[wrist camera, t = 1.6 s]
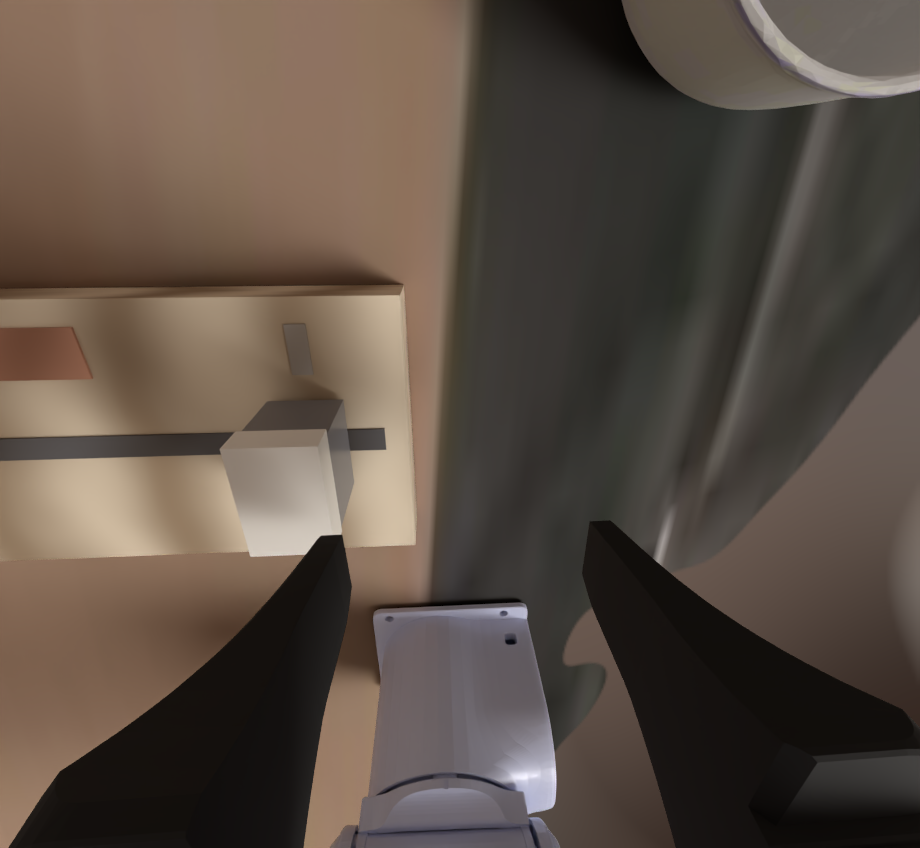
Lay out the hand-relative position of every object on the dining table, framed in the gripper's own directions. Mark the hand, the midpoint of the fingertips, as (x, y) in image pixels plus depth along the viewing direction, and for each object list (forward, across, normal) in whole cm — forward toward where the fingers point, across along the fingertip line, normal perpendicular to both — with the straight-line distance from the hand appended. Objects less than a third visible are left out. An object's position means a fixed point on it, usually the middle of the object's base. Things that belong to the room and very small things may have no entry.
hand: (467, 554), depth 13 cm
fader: (+7, +6, 0) cm, 9 cm away
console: (+9, +12, 0) cm, 15 cm away
